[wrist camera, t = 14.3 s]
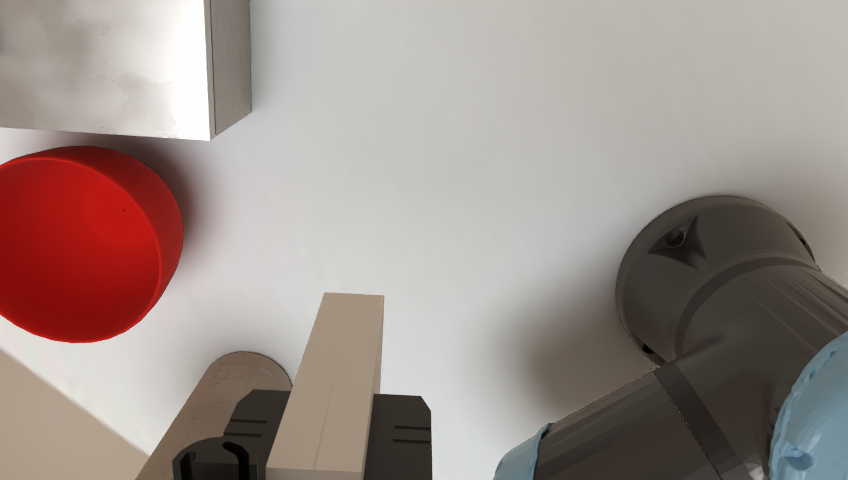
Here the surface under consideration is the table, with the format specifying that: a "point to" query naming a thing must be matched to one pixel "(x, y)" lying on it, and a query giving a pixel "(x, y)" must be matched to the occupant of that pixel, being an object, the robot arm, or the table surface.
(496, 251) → the table surface
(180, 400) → the table surface
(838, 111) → the table surface
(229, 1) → the grey rectangular box
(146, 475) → the thermos bottle
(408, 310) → the table surface
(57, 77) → the lid
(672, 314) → the robot arm
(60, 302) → the ceramic cup
